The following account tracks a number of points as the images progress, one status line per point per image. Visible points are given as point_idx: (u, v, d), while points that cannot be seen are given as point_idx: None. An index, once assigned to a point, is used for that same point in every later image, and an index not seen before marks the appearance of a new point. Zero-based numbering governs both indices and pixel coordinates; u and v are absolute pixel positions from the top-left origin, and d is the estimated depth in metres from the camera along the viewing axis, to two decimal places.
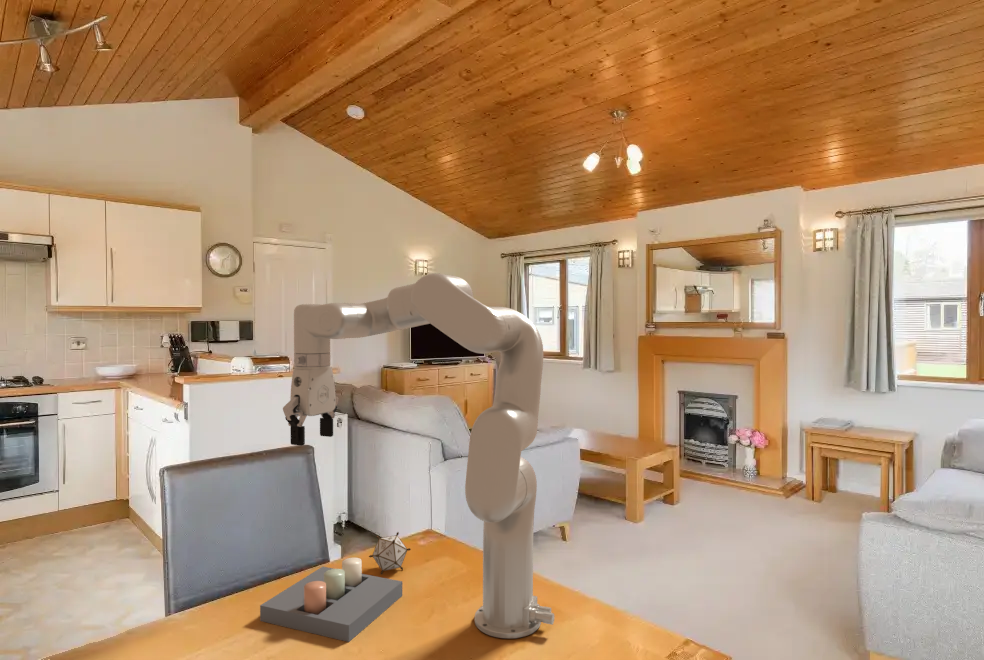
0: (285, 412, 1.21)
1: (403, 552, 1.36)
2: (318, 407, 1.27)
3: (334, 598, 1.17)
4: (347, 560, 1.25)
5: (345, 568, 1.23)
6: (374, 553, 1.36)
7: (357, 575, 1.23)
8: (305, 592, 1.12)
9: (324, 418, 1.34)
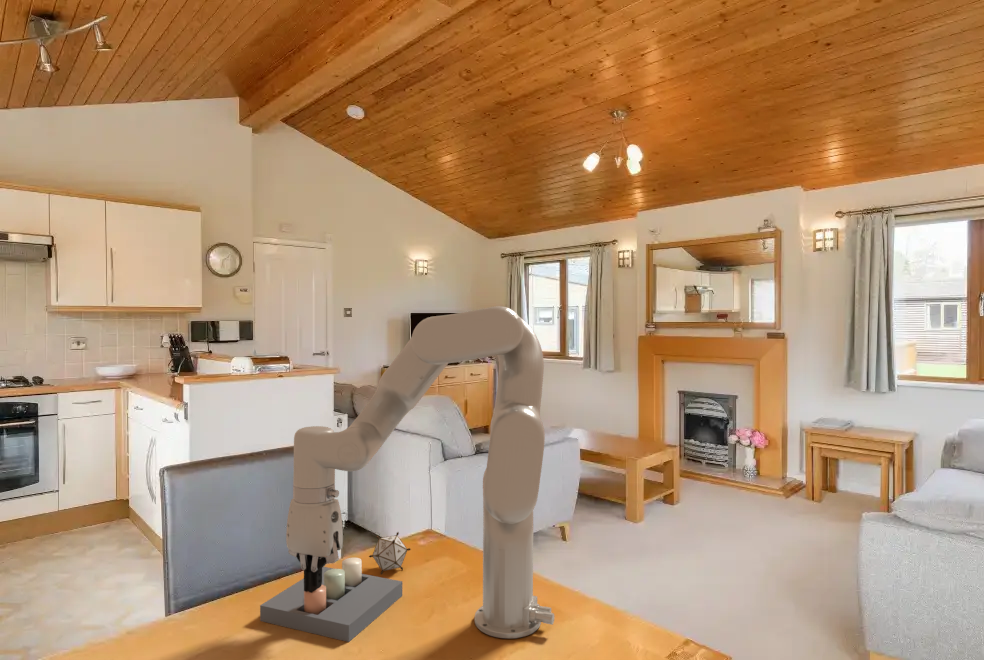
0: None
1: (403, 552, 1.36)
2: None
3: (334, 598, 1.17)
4: (347, 560, 1.25)
5: (345, 568, 1.23)
6: (374, 553, 1.36)
7: (357, 575, 1.23)
8: (305, 596, 1.12)
9: (311, 568, 1.13)
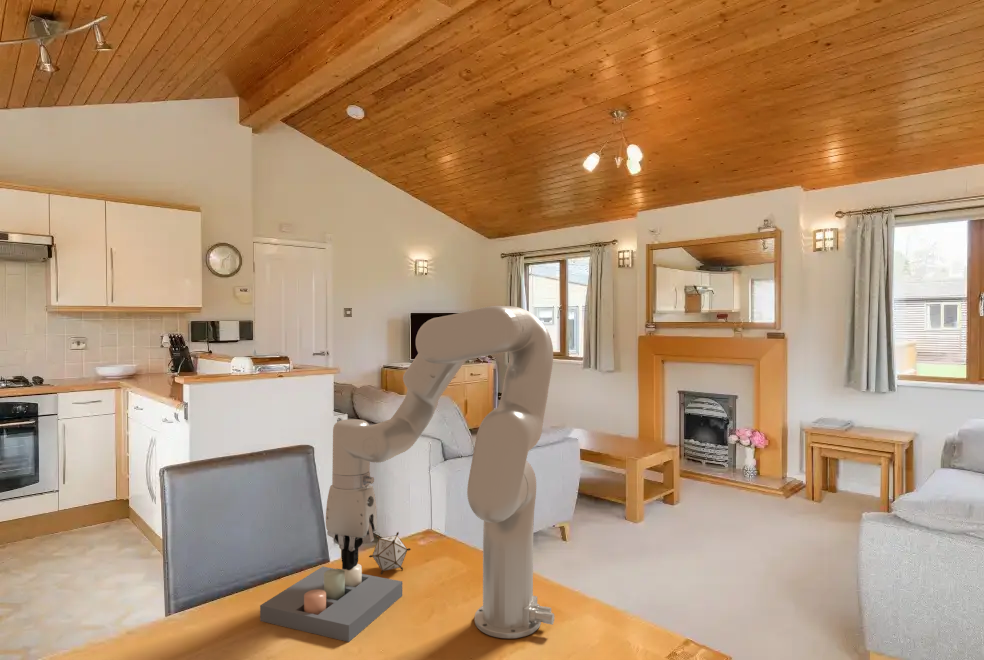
0: None
1: (403, 552, 1.36)
2: None
3: (334, 598, 1.17)
4: None
5: (345, 574, 1.23)
6: (374, 553, 1.36)
7: (357, 581, 1.23)
8: (305, 601, 1.12)
9: (348, 548, 1.24)
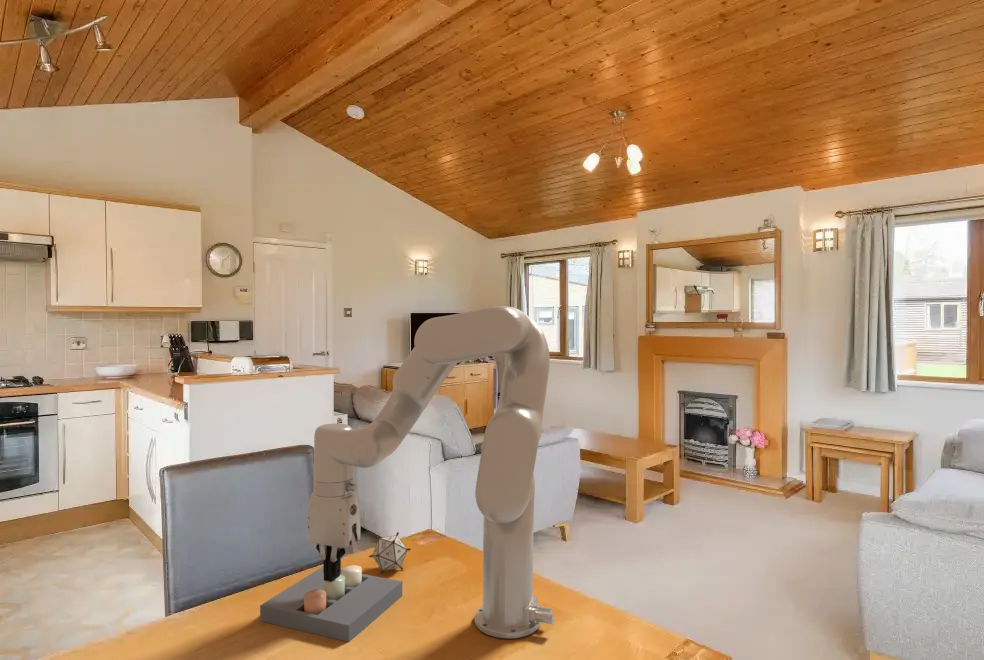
0: None
1: (403, 552, 1.36)
2: None
3: None
4: (347, 568, 1.25)
5: (345, 576, 1.23)
6: (374, 553, 1.36)
7: (357, 583, 1.23)
8: (305, 601, 1.12)
9: (330, 558, 1.19)
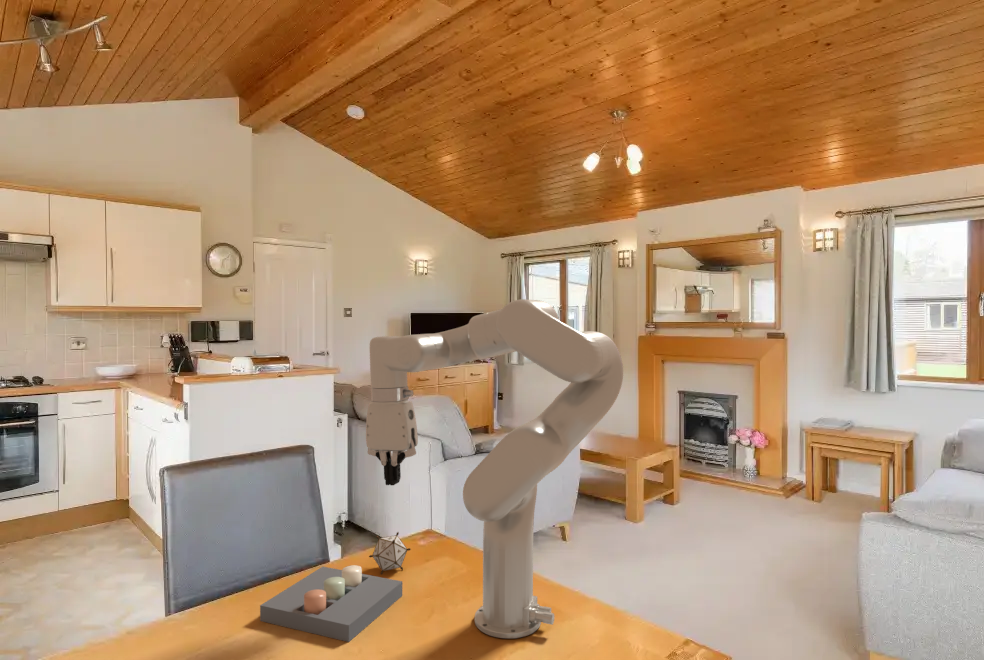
0: (410, 456, 1.23)
1: (403, 552, 1.36)
2: None
3: None
4: (347, 568, 1.25)
5: (345, 576, 1.23)
6: (374, 553, 1.36)
7: (357, 583, 1.23)
8: (305, 601, 1.12)
9: (390, 464, 1.24)
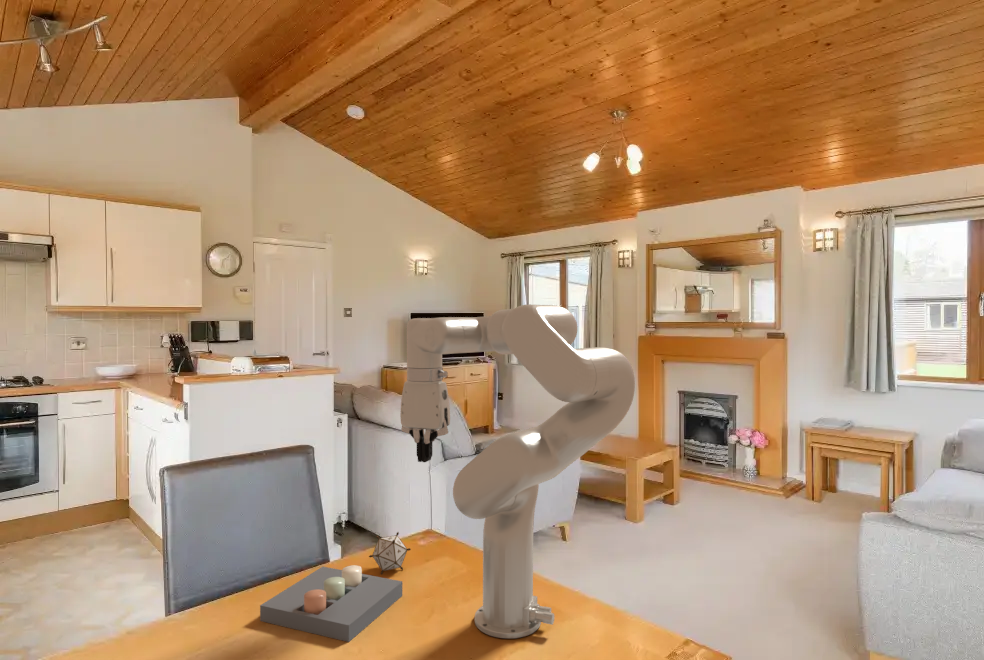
0: None
1: (403, 552, 1.36)
2: None
3: None
4: (347, 568, 1.25)
5: (345, 576, 1.23)
6: (374, 553, 1.36)
7: (357, 583, 1.23)
8: (305, 601, 1.12)
9: (423, 442, 1.28)
